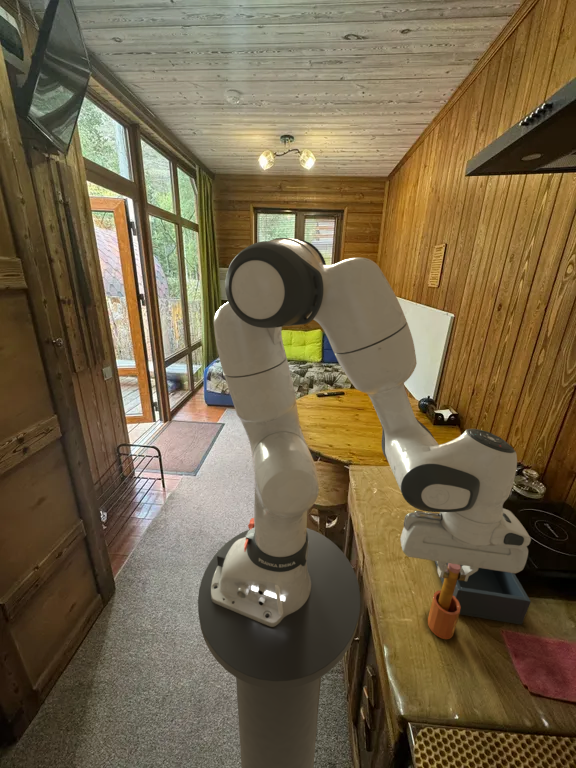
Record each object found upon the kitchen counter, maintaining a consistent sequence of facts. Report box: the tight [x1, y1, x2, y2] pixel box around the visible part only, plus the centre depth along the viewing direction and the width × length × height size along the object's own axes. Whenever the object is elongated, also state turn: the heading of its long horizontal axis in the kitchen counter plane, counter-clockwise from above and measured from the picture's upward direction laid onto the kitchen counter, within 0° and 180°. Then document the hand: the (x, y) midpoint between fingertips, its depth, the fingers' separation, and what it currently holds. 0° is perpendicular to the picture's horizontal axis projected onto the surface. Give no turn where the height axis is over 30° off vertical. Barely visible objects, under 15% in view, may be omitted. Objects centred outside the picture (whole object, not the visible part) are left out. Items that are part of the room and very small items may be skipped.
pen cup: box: [427, 589, 461, 640], centre depth 62 cm, size 5×5×7 cm
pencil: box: [438, 563, 461, 611], centre depth 59 cm, size 2×2×12 cm
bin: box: [434, 561, 531, 626], centre depth 69 cm, size 14×14×7 cm
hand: (451, 576), depth 58 cm, fingers closed on pencil, 2 cm apart
